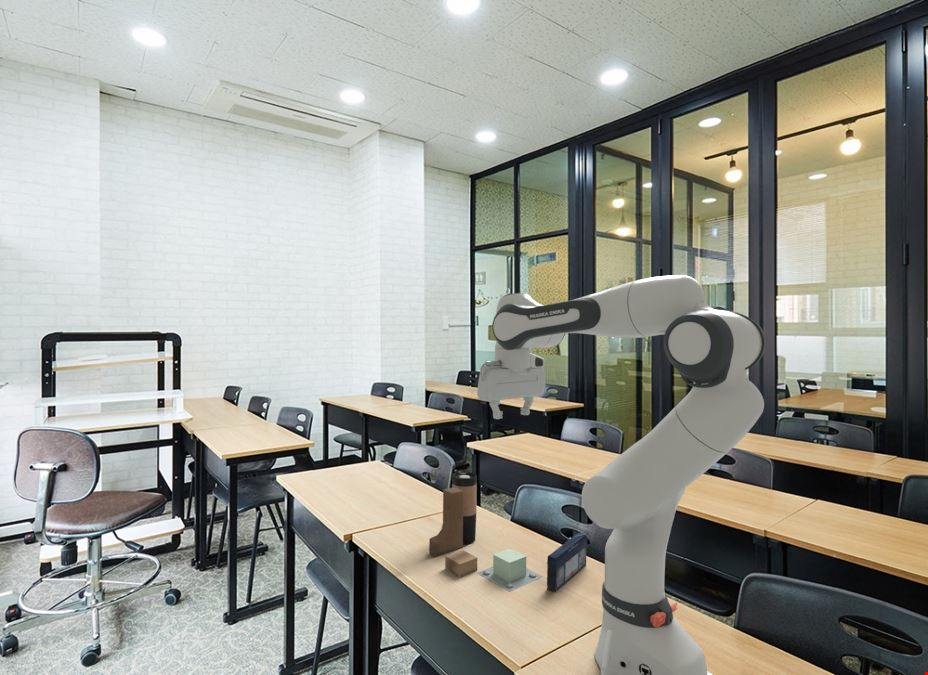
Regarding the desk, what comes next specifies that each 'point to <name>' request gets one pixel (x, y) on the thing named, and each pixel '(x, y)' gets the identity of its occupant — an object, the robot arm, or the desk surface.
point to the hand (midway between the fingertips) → (511, 416)
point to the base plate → (512, 585)
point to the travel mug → (467, 503)
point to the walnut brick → (461, 563)
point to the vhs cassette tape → (566, 562)
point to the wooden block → (449, 524)
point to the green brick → (509, 565)
